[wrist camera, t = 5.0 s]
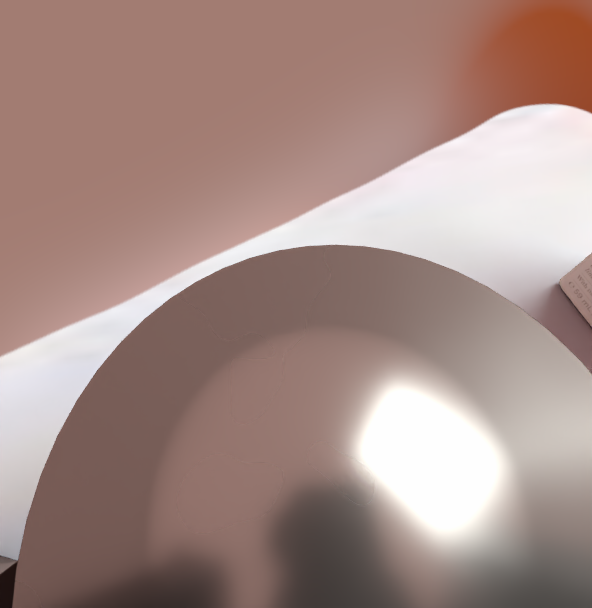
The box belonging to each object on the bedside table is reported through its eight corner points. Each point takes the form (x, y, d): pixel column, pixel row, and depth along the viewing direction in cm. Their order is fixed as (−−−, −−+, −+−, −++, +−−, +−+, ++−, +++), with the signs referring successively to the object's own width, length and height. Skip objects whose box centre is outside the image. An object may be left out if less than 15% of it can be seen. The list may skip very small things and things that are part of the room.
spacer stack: (392, 588, 12) (931, 1479, 1) (251, 550, 13) (-155, 874, 2) (402, 435, 14) (623, 274, 3) (281, 411, 15) (160, 224, 4)
